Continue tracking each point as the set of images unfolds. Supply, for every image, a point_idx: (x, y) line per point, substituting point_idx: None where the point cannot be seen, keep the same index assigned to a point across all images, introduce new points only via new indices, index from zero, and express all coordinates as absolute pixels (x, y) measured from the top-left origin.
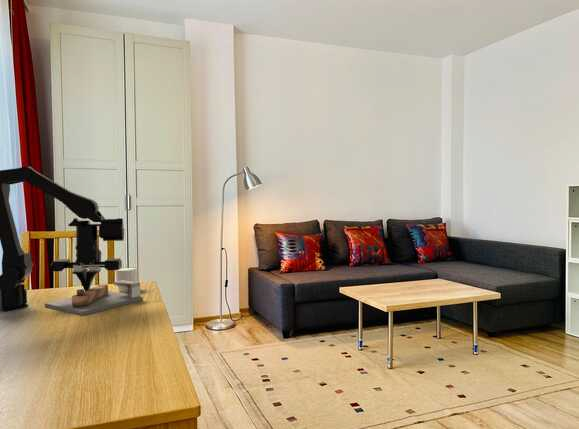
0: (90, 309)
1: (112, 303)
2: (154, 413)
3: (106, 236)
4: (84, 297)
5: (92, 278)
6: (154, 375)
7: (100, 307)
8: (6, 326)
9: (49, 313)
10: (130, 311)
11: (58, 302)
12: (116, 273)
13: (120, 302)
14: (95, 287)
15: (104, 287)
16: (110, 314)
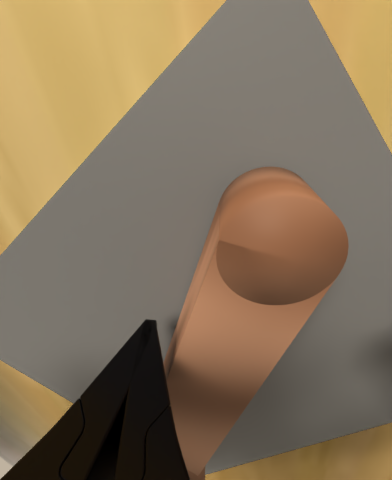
0: (222, 469)
1: (311, 438)
2: None
3: None
4: None
5: (173, 470)
6: None
7: (257, 458)
8: (13, 465)
9: (62, 408)
10: (363, 475)
11: (16, 336)
12: None
13: (351, 432)
14: (207, 333)
15: (295, 328)
16: (290, 477)
